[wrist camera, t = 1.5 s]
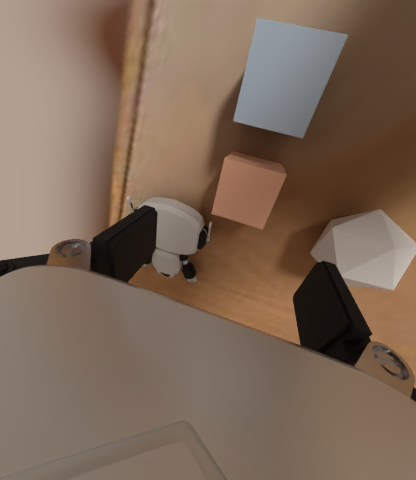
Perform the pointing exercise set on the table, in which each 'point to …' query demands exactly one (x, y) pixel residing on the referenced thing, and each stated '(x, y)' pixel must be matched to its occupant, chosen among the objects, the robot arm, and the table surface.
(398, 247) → the die
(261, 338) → the robot arm
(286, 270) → the table surface
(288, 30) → the slate block
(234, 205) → the terracotta block
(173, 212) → the robot toy
